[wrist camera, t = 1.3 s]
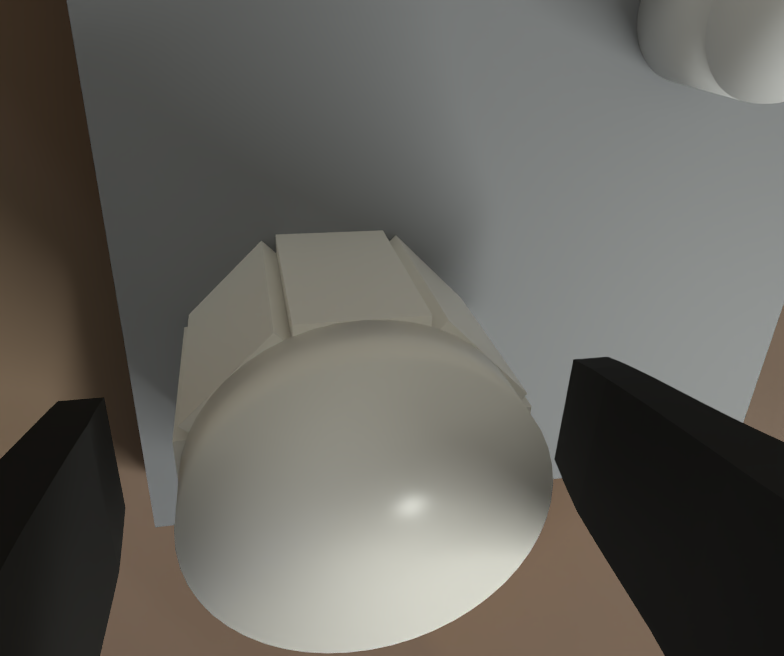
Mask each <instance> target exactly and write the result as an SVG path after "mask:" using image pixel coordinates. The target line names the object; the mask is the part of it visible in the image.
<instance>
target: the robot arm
mask: <svg viewBox="0 0 784 656" xmlns="http://www.w3.org/2000/svg"><path fill="white" fill-rule="evenodd" d="M554 460H555V462H556V464H557V467H558V469H559V472H560V474H561V476H562V479H563V481H564V484H565V486H566V488H567V490H568V493H569V495H570V497H571V499H572V501H573V503H574V506H575V508H576V510H577V512H578V514H579V515H580V517H581V519H582V520H583V522H584V524H585V526H586V527H587V529H588V530H589V532H590V534H591V535H592V537H593V539H594V540H595V542H596V544H597V545H598V547H599V548H600V550H601V552H602V553H603V555H604V557H605V558H606V560H607V561H608V563H609V565H610V566H611V568H612V569H613V571H614V573H615V574H616V576H617V577H618V579H619V581H620V582H621V584H622V585H623V587H624V589H625V590H626V592H627V593H628V595H629V597H630V598H631V600H632V601H633V603H634V605H635V606H636V608H637V609H638V611H639V613H640V614H641V616H642V617H643V619H644V621H645V622H646V624H647V625H648V627H649V629H650V630H651V632H652V634H653V636H654V637H655V639H656V641H657V643H658V644H659V646H660V648H661V650H662V651H663V653H664V655H665V656H784V442H782V441H780V440H778V439H776V438H774V437H771V436H769V435H767V434H765V433H763V432H761V431H758V430H756V429H754V428H752V427H750V426H748V425H746V424H744V423H742V422H740V421H738V420H736V419H734V418H732V417H730V416H728V415H726V414H724V413H722V412H720V411H718V410H716V409H714V408H712V407H710V406H708V405H706V404H704V403H702V402H700V401H698V400H696V399H694V398H692V397H691V396H689V395H687V394H685V393H683V392H681V391H679V390H677V389H675V388H673V387H671V386H669V385H667V384H665V383H663V382H661V381H660V380H658V379H656V378H654V377H652V376H650V375H648V374H646V373H644V372H642V371H639V370H637V369H635V368H633V367H631V366H629V365H627V364H625V363H622V362H620V361H617V360H615V359H612V358H610V357H597V358H585V359H573V364H572V369H571V374H570V380H569V385H568V390H567V395H566V401H565V406H564V411H563V416H562V421H561V427H560V432H559V437H558V442H557V448H556V453H555V458H554ZM124 516H125V503H124V498H123V493H122V488H121V483H120V478H119V473H118V467H117V462H116V457H115V452H114V447H113V442H112V436H111V431H110V426H109V421H108V416H107V411H106V406H105V400H104V398H92V399H80V400H68V401H58V402H57V403H56V404H55V405H54V406H53V407H51V408H50V409H49V410H48V411H47V412H46V413H45V414H44V415H43V416H42V417H41V418H40V420H39V421H38V422H37V423H36V424H35V425H34V426H33V427H32V428H31V429H30V430H29V431H28V432H27V433H26V434H25V435H24V436H23V437H22V438H21V439H20V440H19V441H18V442H17V443H16V444H15V445H14V446H13V447H12V448H11V449H10V450H9V451H8V452H7V453H6V454H5V455H4V456H3V457H2V458H1V459H0V656H100V653H101V649H102V645H103V640H104V636H105V632H106V627H107V623H108V619H109V614H110V610H111V605H112V601H113V596H114V592H115V588H116V583H117V578H118V574H119V567H120V558H121V548H122V538H123V527H124Z"/></svg>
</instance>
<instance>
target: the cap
mask: <svg viewBox="0 0 784 656" xmlns="http://www.w3.org/2000/svg"><path fill="white" fill-rule="evenodd" d="M275 237H276V253H275V252H274V251H273V250H272V249H271V248H270V247H268V246H267V245H266V244H265V243H264V242H262V241H260V242H259V243H258V244H257V246H256V247H255V248H254V249H253V250H252V251H251V252H250V253H249V254H248V255H247V256H246V257H245V258H244V259H243V260H242V261H241V262H240V263H239V264H238V265H237V266H236V267H235V268H234V269H233V270H232V271H231V272H230V273H229V274H228V275H227V276H226V277H225V278H224V279H223V280H222V281H221V282H220V283H219V284H218V285H217V286H216V287H215V288H214V289H213V290H212V291H211V293H210V294H209V295H208V296H207V297H206V298H205V299H204V300H203V301H202V302H201V303H200V304H199V305H198V306H197V307H196V308H195V309H194V310H193V311H192V312H191V313H190V314H189V318H188V327H184V336H183V345H182V354H181V364H180V373H179V383H178V392H177V402H176V411H175V421H174V430H173V440H172V443H173V450H174V457H175V464H176V471H177V478H178V491H177V503H176V514H175V526H174V534H175V550H176V554H177V558H178V562H179V566H180V569H181V571H182V573H183V576H184V578H185V580H186V582H187V584H188V586H189V587H190V589H191V590H192V592H193V593H194V595H195V596H196V598H197V599H198V600H199V602H200V603H201V604H202V605H203V606H204V607H205V608H206V609H207V610H208V611H209V612H210V613H211V614H212V615H213V616H215V617H216V618H217V619H219V620H220V621H221V622H223V623H224V624H225V625H227V626H228V627H230V628H232V629H234V630H236V631H237V632H239V633H241V634H243V635H245V636H247V637H249V638H252V639H254V640H257V641H259V642H262V643H265V644H269V645H272V646H276V647H280V648H283V649H289V650H296V651H302V652H314V653H348V652H356V651H364V650H371V649H376V648H381V647H385V646H390V645H394V644H397V643H401V642H404V641H407V640H411V639H414V638H416V637H419V636H421V635H424V634H426V633H429V632H431V631H434V630H436V629H438V628H440V627H442V626H444V625H446V624H448V623H450V622H452V621H454V620H455V619H457V618H459V617H460V616H462V615H464V614H465V613H467V612H469V611H470V610H472V609H473V608H474V607H476V606H477V605H479V604H480V603H481V602H483V601H484V600H485V599H487V598H488V597H489V596H490V595H491V594H493V593H494V592H495V591H496V590H497V589H498V588H499V587H500V586H502V585H503V584H504V583H505V582H506V581H507V579H508V578H509V577H510V576H511V575H512V574H513V573H514V572H515V571H516V570H517V569H518V567H519V566H520V565H521V563H522V562H523V561H524V559H525V558H526V557H527V555H528V554H529V552H530V551H531V549H532V547H533V545H534V544H535V542H536V540H537V539H538V537H539V535H540V532H541V530H542V528H543V525H544V523H545V521H546V518H547V514H548V510H549V507H550V503H551V496H552V488H553V472H552V462H551V458H550V453H549V449H548V446H547V443H546V441H545V438H544V436H543V434H542V431H541V429H540V428H539V426H538V425H537V423H536V422H535V420H534V419H533V417H532V415H531V408H532V406H531V405H530V403H529V402H528V400H527V399H526V398H525V396H526V395H527V392H526V391H525V389H524V388H523V386H522V385H521V384H520V382H519V381H518V379H517V378H516V376H515V375H514V374H513V372H512V371H511V369H510V368H509V366H508V365H507V363H506V362H505V361H504V359H503V358H502V356H501V355H500V353H499V352H498V351H497V349H496V348H495V346H494V345H493V343H492V342H491V341H490V339H489V338H488V336H487V335H486V333H485V332H484V330H483V329H482V328H481V326H480V325H479V323H478V322H477V320H476V319H475V318H474V316H473V315H472V313H471V312H470V310H469V309H468V308H467V306H466V305H465V303H464V302H463V300H462V299H461V298H460V297H459V296H458V295H457V294H456V293H455V292H454V291H453V290H452V289H451V288H450V287H449V286H448V285H447V284H446V283H445V282H444V281H443V280H442V279H441V278H440V277H439V276H438V275H437V274H436V273H435V272H434V271H432V270H431V269H430V268H429V267H428V266H427V265H426V264H425V263H424V262H423V261H422V260H421V259H420V258H419V257H418V256H417V255H416V254H415V253H414V252H413V251H412V250H411V249H410V248H409V247H408V246H407V245H406V244H405V243H404V242H403V241H402V240H400V239H399V238H398V237H397V236H396V235H395V236H394V237H393V238H392V239H391V240H390V241H389V240H388V238H387V237H386V235H385V233H384V231H383V230H378V231H352V232H327V233H301V234H276V235H275Z"/></svg>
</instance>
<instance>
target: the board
mask: <svg viewBox="0 0 784 656" xmlns="http://www.w3.org/2000/svg"><path fill="white" fill-rule="evenodd" d="M67 6H68V11H69V17H70V23H71V29H72V35H73V41H74V47H75V53H76V59H77V65H78V71H79V77H80V83H81V89H82V95H83V101H84V107H85V112H86V118H87V124H88V130H89V136H90V142H91V148H92V154H93V160H94V166H95V172H96V178H97V184H98V190H99V196H100V202H101V208H102V214H103V219H104V225H105V231H106V237H107V243H108V249H109V255H110V261H111V267H112V273H113V279H114V285H115V291H116V297H117V303H118V309H119V315H120V320H121V326H122V332H123V338H124V344H125V350H126V356H127V362H128V368H129V374H130V380H131V386H132V392H133V398H134V404H135V410H136V416H137V421H138V427H139V433H140V439H141V445H142V451H143V457H144V463H145V469H146V475H147V481H148V487H149V493H150V499H151V505H152V511H153V517H154V523H155V527H161V526H169V525H175V514H176V503H177V491H178V478H177V471H176V464H175V457H174V450H173V443H172V440H173V430H174V421H175V411H176V402H177V392H178V383H179V373H180V364H181V354H182V345H183V336H184V327H188V318H189V314H190V313H191V312H192V311H193V310H194V309H195V308H196V307H197V306H198V305H199V304H200V303H201V302H202V301H203V300H204V299H205V298H206V297H207V296H208V295H209V294H210V293H211V291H212V290H213V289H214V288H215V287H216V286H217V285H218V284H219V283H220V282H221V281H222V280H223V279H224V278H225V277H226V276H227V275H228V274H229V273H230V272H231V271H232V270H233V269H234V268H235V267H236V266H237V265H238V264H239V263H240V262H241V261H242V260H243V259H244V258H245V257H246V256H247V255H248V254H249V253H250V252H251V251H252V250H253V249H254V248H255V247H256V246H257V244H258V243H259V242H260V241H262V242H264V243H265V244H266V245H267V246H268V247H270V248H271V249H272V250H273V251H274V252H275V253H276V237H275V235H276V234H301V233H327V232H352V231H378V230H383V231H384V233H385V235H386V237H387V238H388V240H389V241H390V240H391V239H392V238H393V237H394V236H395V235H396V236H397V237H398V238H399V239H400V240H402V241H403V242H404V243H405V244H406V245H407V246H408V247H409V248H410V249H411V250H412V251H413V252H414V253H415V254H416V255H417V256H418V257H419V258H420V259H421V260H422V261H423V262H424V263H425V264H426V265H427V266H428V267H429V268H430V269H431V270H432V271H434V272H435V273H436V274H437V275H438V276H439V277H440V278H441V279H442V280H443V281H444V282H445V283H446V284H447V285H448V286H449V287H450V288H451V289H452V290H453V291H454V292H455V293H456V294H457V295H458V296H459V297H460V298H461V299H462V300H463V302H464V303H465V305H466V306H467V308H468V309H469V310H470V312H471V313H472V315H473V316H474V318H475V319H476V320H477V322H478V323H479V325H480V326H481V328H482V329H483V330H484V332H485V333H486V335H487V336H488V338H489V339H490V341H491V342H492V343H493V345H494V346H495V348H496V349H497V351H498V352H499V353H500V355H501V356H502V358H503V359H504V361H505V362H506V363H507V365H508V366H509V368H510V369H511V371H512V372H513V374H514V375H515V376H516V378H517V379H518V381H519V382H520V384H521V385H522V386H523V388H524V389H525V391H526V392H527V395H526V396H525V398H526V399H527V400H528V402H529V403H530V405H531V406H532V408H531V415H532V417H533V419H534V420H535V422H536V423H537V425H538V426H539V428H540V429H541V431H542V434H543V436H544V438H545V441H546V443H547V446H548V449H549V453H550V458H551V462H552V472H553V479H557V478H562V476H561V474H560V472H559V469H558V467H557V464H556V462H555V460H554V458H555V453H556V448H557V442H558V437H559V432H560V427H561V421H562V416H563V411H564V406H565V401H566V395H567V390H568V385H569V380H570V374H571V369H572V364H573V359H585V358H597V357H610V358H612V359H615V360H617V361H620V362H622V363H625V364H627V365H629V366H631V367H633V368H635V369H637V370H639V371H642V372H644V373H646V374H648V375H650V376H652V377H654V378H656V379H658V380H660V381H661V382H663V383H665V384H667V385H669V386H671V387H673V388H675V389H677V390H679V391H681V392H683V393H685V394H687V395H689V396H691V397H692V398H694V399H696V400H698V401H700V402H702V403H704V404H706V405H708V406H710V407H712V408H714V409H716V410H718V411H720V412H722V413H724V414H726V415H728V416H730V417H732V418H734V419H736V420H738V421H740V422H742V423H743V421H744V418H745V415H746V412H747V410H748V407H749V404H750V401H751V398H752V395H753V392H754V389H755V386H756V383H757V380H758V377H759V374H760V371H761V368H762V365H763V363H764V360H765V357H766V354H767V351H768V348H769V345H770V342H771V339H772V336H773V333H774V330H775V327H776V324H777V321H778V319H779V316H780V313H781V310H782V307H783V304H784V0H67Z"/></svg>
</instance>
